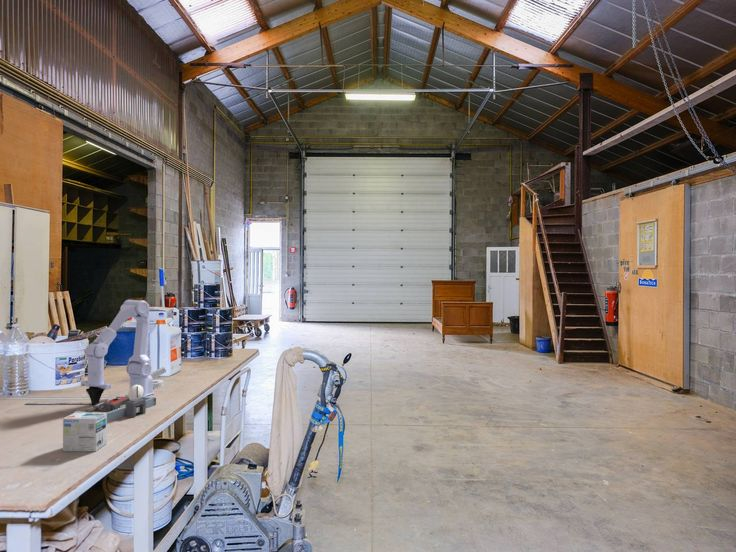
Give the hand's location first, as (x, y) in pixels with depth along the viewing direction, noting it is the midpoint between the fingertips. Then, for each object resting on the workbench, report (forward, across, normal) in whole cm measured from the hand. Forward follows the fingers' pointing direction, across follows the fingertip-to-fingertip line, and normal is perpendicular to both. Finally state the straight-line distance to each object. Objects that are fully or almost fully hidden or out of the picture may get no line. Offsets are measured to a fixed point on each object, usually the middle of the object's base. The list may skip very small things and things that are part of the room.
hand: (95, 404), depth 190 cm
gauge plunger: (0, +19, 0) cm, 19 cm away
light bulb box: (+2, +34, -32) cm, 47 cm away
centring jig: (+1, +14, 0) cm, 15 cm away
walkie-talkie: (+2, +5, +2) cm, 6 cm away
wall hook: (+2, -5, +37) cm, 37 cm away
